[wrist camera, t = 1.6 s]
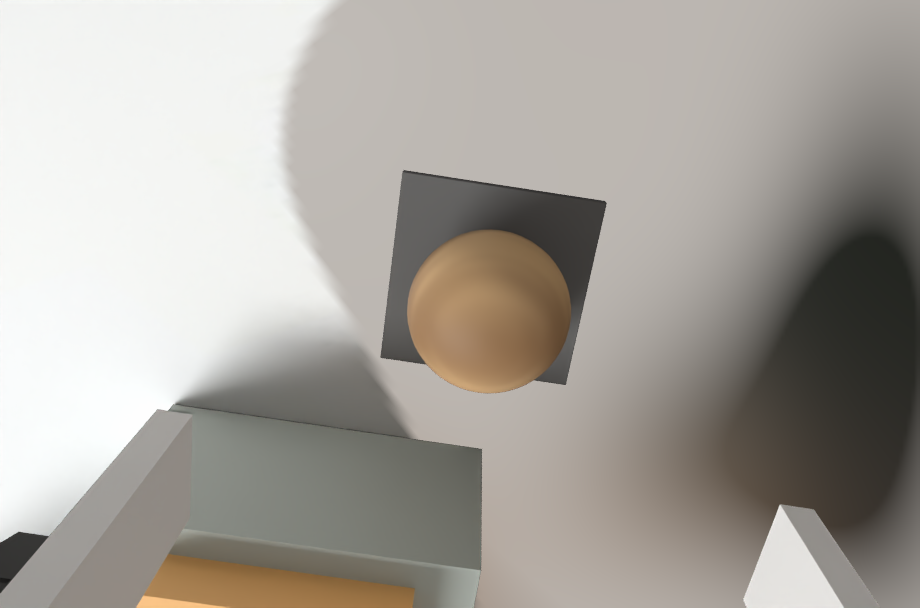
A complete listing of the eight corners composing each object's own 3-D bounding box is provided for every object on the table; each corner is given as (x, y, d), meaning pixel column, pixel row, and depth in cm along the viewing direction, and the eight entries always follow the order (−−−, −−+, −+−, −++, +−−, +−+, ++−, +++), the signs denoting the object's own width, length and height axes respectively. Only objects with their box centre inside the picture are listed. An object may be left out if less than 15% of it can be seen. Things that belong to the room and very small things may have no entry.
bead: (424, 201, 28) (409, 244, 23) (575, 224, 28) (598, 272, 23) (406, 339, 30) (388, 410, 25) (546, 360, 30) (561, 435, 25)
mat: (403, 170, 28) (402, 172, 28) (605, 201, 28) (606, 203, 28) (381, 353, 31) (380, 357, 31) (564, 380, 31) (565, 384, 31)
